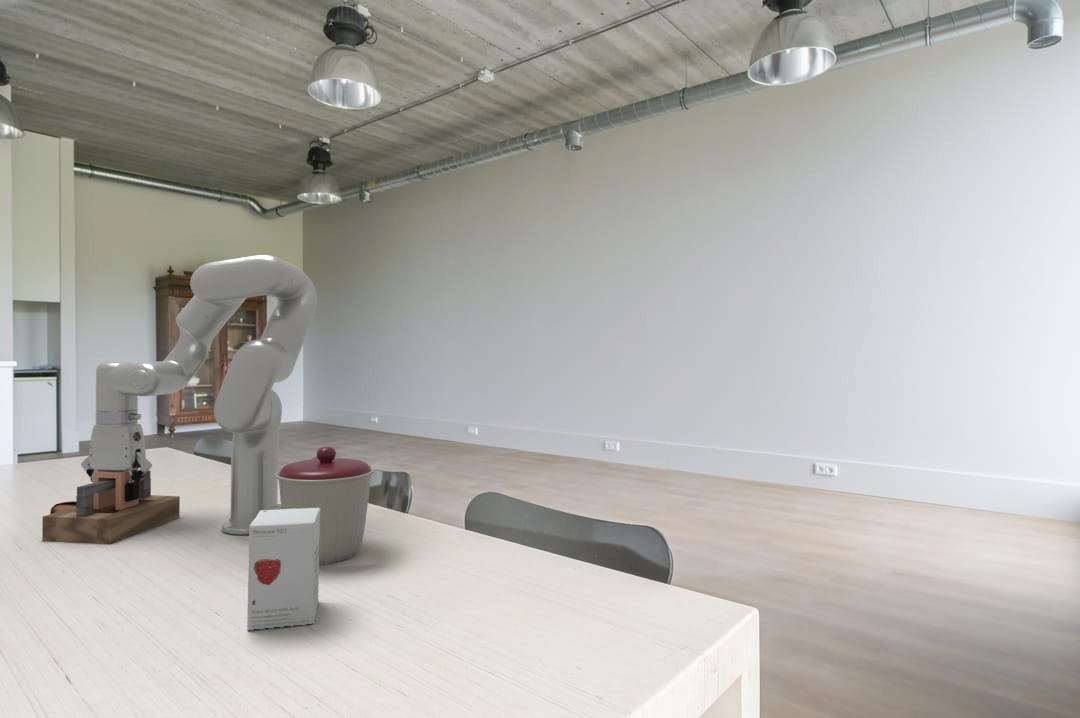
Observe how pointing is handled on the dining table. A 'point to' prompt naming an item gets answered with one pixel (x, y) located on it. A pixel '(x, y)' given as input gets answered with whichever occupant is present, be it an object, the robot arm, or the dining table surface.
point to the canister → (330, 499)
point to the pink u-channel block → (112, 491)
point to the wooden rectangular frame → (109, 515)
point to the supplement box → (283, 568)
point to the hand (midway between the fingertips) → (116, 499)
